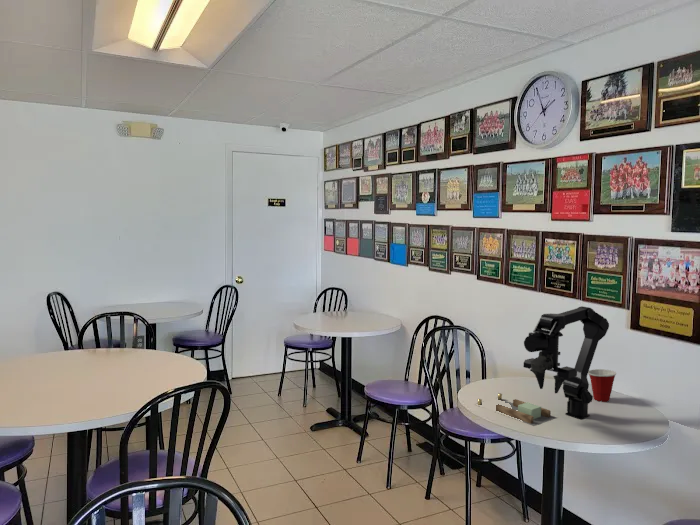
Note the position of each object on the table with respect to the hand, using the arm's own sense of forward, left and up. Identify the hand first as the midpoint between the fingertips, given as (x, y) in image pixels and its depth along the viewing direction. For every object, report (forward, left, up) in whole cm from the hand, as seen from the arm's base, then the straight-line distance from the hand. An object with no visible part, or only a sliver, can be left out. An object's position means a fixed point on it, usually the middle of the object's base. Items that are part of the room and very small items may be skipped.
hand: (548, 390), depth 195 cm
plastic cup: (+3, -41, -12) cm, 43 cm away
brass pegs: (+27, 0, -12) cm, 30 cm away
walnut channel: (+11, 0, -12) cm, 16 cm away
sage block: (+8, 0, -12) cm, 14 cm away
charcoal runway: (+15, 0, -12) cm, 19 cm away
